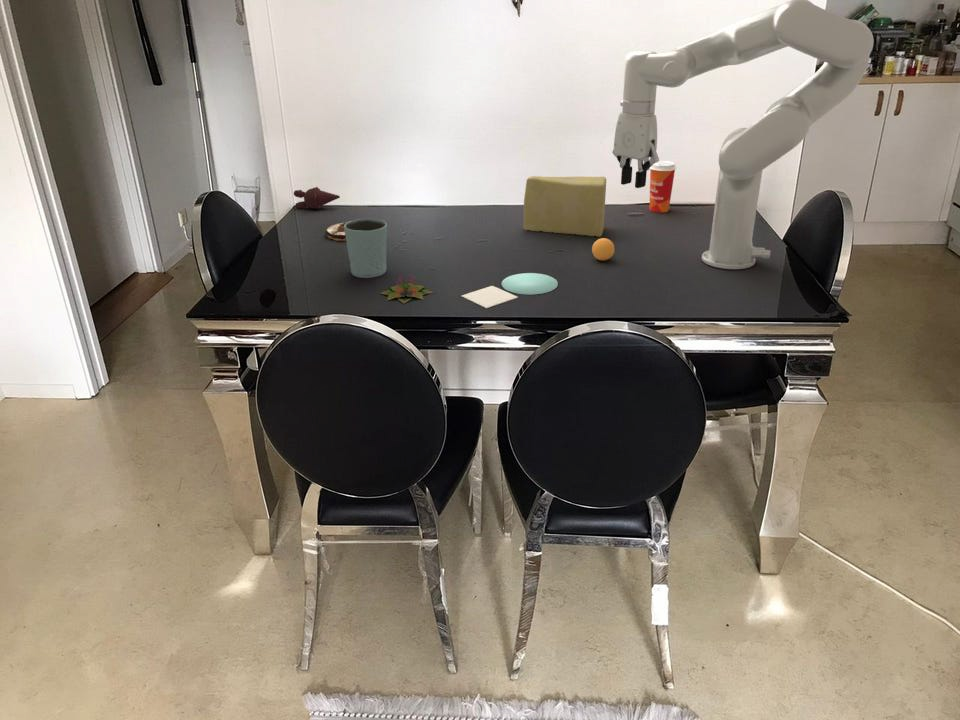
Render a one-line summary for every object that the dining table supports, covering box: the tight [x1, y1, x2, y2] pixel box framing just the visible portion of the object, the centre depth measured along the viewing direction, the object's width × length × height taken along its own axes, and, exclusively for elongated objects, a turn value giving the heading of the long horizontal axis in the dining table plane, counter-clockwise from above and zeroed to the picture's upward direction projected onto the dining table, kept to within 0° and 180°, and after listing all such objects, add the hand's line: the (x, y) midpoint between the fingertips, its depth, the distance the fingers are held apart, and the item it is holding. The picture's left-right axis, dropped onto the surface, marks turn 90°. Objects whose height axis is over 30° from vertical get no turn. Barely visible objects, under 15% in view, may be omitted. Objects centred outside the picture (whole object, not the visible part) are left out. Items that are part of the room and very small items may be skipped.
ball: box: [591, 237, 615, 262], centre depth 185 cm, size 6×6×6 cm
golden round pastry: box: [325, 220, 350, 242], centre depth 209 cm, size 15×15×4 cm
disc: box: [501, 272, 559, 296], centre depth 173 cm, size 13×13×1 cm
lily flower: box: [379, 274, 435, 304], centre depth 169 cm, size 12×12×5 cm
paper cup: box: [649, 160, 677, 214], centre depth 220 cm, size 8×8×14 cm
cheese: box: [523, 175, 607, 238], centre depth 204 cm, size 22×10×15 cm, turn 78°
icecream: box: [293, 186, 341, 210], centre depth 232 cm, size 7×7×15 cm
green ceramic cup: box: [344, 218, 388, 279], centre depth 180 cm, size 10×10×12 cm
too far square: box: [461, 285, 519, 309], centre depth 167 cm, size 9×9×1 cm
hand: (633, 184), depth 184 cm, fingers open, 3 cm apart
